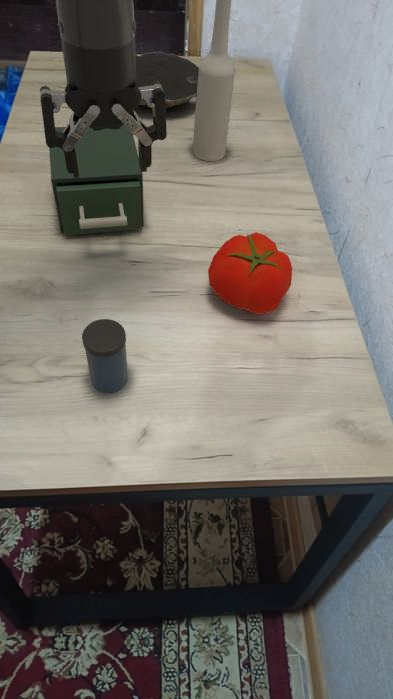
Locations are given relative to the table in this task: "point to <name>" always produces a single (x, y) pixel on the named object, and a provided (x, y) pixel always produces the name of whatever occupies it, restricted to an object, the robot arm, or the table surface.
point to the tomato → (251, 273)
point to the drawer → (100, 206)
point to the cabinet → (98, 161)
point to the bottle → (214, 91)
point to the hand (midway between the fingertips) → (109, 171)
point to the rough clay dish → (168, 76)
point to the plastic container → (106, 355)
